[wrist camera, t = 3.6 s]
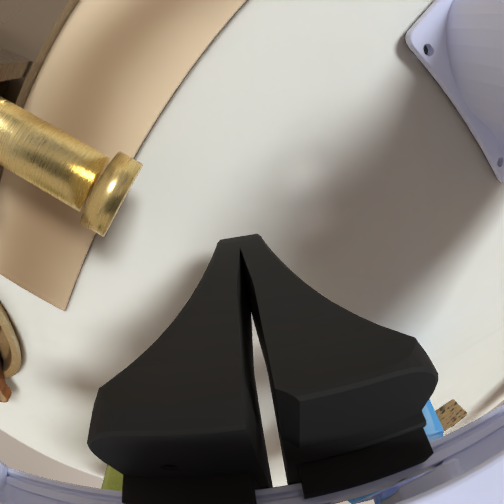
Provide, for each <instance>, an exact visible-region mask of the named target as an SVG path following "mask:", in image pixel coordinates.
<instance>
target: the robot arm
mask: <svg viewBox="0 0 504 504" xmlns="http://www.w3.org/2000/svg"><path fill="white" fill-rule="evenodd" d="M405 40H406V43H407V45H408V47H409V48H410V49H411V51H412V52H413V53H414V54H415V55H416V56H417V58H418V59H419V60H420V61H421V62H422V64H423V65H424V66H425V67H426V68H427V70H428V71H429V72H430V73H431V75H432V76H433V77H434V79H435V80H436V81H437V82H438V84H439V85H440V86H441V88H442V89H443V90H444V92H445V93H446V95H447V96H448V97H449V99H450V100H451V102H452V103H453V104H454V106H455V107H456V109H457V110H458V112H459V113H460V115H461V116H462V118H463V119H464V121H465V123H466V124H467V126H468V127H469V129H470V131H471V132H472V134H473V135H474V137H475V139H476V140H477V142H478V144H479V146H480V147H481V149H482V151H483V153H484V154H485V156H486V158H487V160H488V162H489V164H490V166H491V167H492V169H493V171H494V173H495V175H496V177H497V179H498V180H499V181H500V182H502V183H504V0H435V1H434V2H433V3H432V4H431V5H430V6H429V8H428V9H427V10H426V11H425V12H424V13H423V14H422V15H421V17H420V18H419V19H418V20H417V21H416V22H415V23H414V24H413V26H412V27H411V28H410V29H409V30H408V31H407V33H406V37H405ZM424 45H426V47H427V48H428V53H427V55H426V54H425V53H424V50H423V47H424ZM251 313H252V316H253V320H254V324H255V327H256V331H257V334H258V338H259V342H260V345H261V349H262V352H263V356H264V359H265V363H266V367H267V371H268V376H269V382H270V387H271V393H272V399H273V404H274V410H275V416H276V421H277V427H278V433H279V438H280V444H281V450H282V455H283V461H284V466H285V472H286V478H287V483H288V485H286V486H280V487H273V486H272V480H271V475H270V469H269V463H268V457H267V452H266V446H265V440H264V434H263V428H262V421H261V415H260V409H259V403H258V396H257V390H256V383H255V376H254V365H253V344H252V322H251ZM437 382H438V373H437V371H436V369H435V367H434V365H433V364H432V362H431V360H430V358H429V357H428V355H427V354H426V352H425V351H424V349H423V348H422V347H421V345H420V344H419V343H418V341H417V340H416V338H414V337H412V336H409V335H406V334H403V333H400V332H397V331H394V330H391V329H388V328H385V327H382V326H380V325H377V324H375V323H373V322H371V321H368V320H366V319H364V318H361V317H359V316H357V315H355V314H353V313H351V312H349V311H348V310H346V309H344V308H342V307H340V306H339V305H337V304H335V303H333V302H331V301H330V300H328V299H327V298H325V297H324V296H322V295H321V294H319V293H318V292H317V291H315V290H314V289H312V288H311V287H310V286H308V285H307V284H306V283H305V282H303V281H302V280H301V279H300V278H299V277H298V276H296V275H295V274H294V273H293V272H292V271H291V270H290V269H289V268H288V267H287V266H286V265H285V264H284V263H283V262H282V261H281V260H280V259H279V258H278V257H277V256H276V255H275V254H274V253H273V252H272V251H271V249H270V248H269V247H268V246H267V244H266V243H265V242H264V240H263V239H262V237H261V236H260V235H258V234H253V235H247V236H241V237H235V238H229V239H223V240H220V241H219V242H218V243H217V246H216V249H215V252H214V254H213V257H212V259H211V261H210V263H209V265H208V267H207V269H206V271H205V273H204V275H203V277H202V279H201V281H200V283H199V284H198V286H197V288H196V289H195V291H194V293H193V294H192V296H191V297H190V299H189V301H188V302H187V303H186V305H185V306H184V308H183V309H182V311H181V312H180V313H179V315H178V316H177V317H176V319H175V320H174V321H173V322H172V323H171V325H170V326H169V327H168V328H167V329H166V330H165V332H164V333H163V334H162V335H161V336H160V337H159V338H158V339H157V340H156V341H155V342H154V343H153V344H152V345H151V346H150V347H149V348H148V349H147V350H146V351H145V352H144V353H143V354H142V355H141V356H140V357H138V358H137V359H136V360H135V361H134V362H133V363H132V364H130V365H129V366H128V367H127V368H126V369H124V370H123V371H122V372H120V373H119V374H118V375H116V376H115V377H114V378H113V379H111V380H110V381H109V382H107V383H106V384H105V385H103V386H102V387H100V388H99V390H98V394H97V397H96V400H95V403H94V407H93V412H92V417H91V423H90V429H89V434H88V441H87V444H88V446H89V448H90V450H91V451H92V452H93V453H94V454H95V455H96V456H97V457H98V458H99V459H101V460H102V461H104V462H105V463H106V464H108V465H109V466H111V467H112V468H114V469H115V470H117V471H118V472H120V473H121V474H123V485H122V491H115V490H106V489H99V488H92V487H86V486H80V485H75V484H70V483H65V482H60V481H55V480H51V479H47V478H43V477H39V476H35V475H32V474H28V473H25V472H21V471H18V470H15V469H12V468H8V467H7V466H6V465H5V464H4V463H2V462H1V461H0V504H335V503H340V502H343V501H347V500H351V499H354V498H358V497H361V496H364V495H367V494H370V493H373V492H376V491H379V490H382V489H385V488H388V487H391V486H393V485H396V484H399V483H401V482H404V481H406V480H409V479H411V478H414V477H416V476H418V475H421V474H423V473H425V472H427V473H425V474H423V475H421V476H419V477H417V478H415V479H413V480H411V481H409V482H407V483H405V484H403V485H401V486H399V488H398V490H397V491H396V492H395V493H393V494H392V495H390V496H388V497H387V498H385V499H383V500H381V502H380V504H504V404H502V405H501V406H499V407H497V408H496V409H494V410H492V411H491V412H489V413H487V414H486V415H484V416H482V417H480V418H478V419H477V420H475V421H473V422H471V423H469V424H467V425H465V426H464V427H462V428H460V429H458V430H456V431H454V432H452V433H450V434H447V435H445V436H443V437H441V438H439V439H437V440H435V441H432V442H429V440H428V438H427V435H426V433H425V430H424V428H423V427H425V426H426V425H427V423H426V419H425V417H424V415H423V412H422V409H423V408H424V406H425V405H426V403H427V402H428V400H429V398H430V397H431V395H432V394H433V392H434V390H435V387H436V385H437ZM430 470H431V471H430ZM428 471H429V472H428Z"/></svg>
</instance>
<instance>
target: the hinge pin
mask: <svg viewBox="0 0 504 504" xmlns="http://www.w3.org/2000/svg"><path fill="white" fill-rule="evenodd" d="M109 161H110V157H108V156H107V155H105V154H103V153H101V152H100V151H98V150H96V149H94V148H92V147H91V146H89V145H87V144H85V143H84V142H82V141H80V140H78V139H77V138H75V137H73V136H71V135H69V134H68V133H66V132H64V131H62V130H60V129H59V128H57V127H55V126H53V125H52V124H50V123H48V122H46V121H44V120H43V119H41V118H39V117H37V116H35V115H34V114H32V113H30V112H28V111H26V110H25V109H23V108H21V107H19V106H17V105H16V104H14V103H12V102H10V101H8V100H6V99H5V98H3V97H1V96H0V165H2V166H3V167H5V168H7V169H8V170H10V171H11V172H13V173H15V174H16V175H18V176H20V177H21V178H23V179H25V180H26V181H28V182H30V183H31V184H33V185H35V186H36V187H38V188H40V189H41V190H43V191H45V192H46V193H48V194H50V195H52V196H53V197H55V198H57V199H58V200H60V201H62V202H64V203H65V204H67V205H69V206H71V207H72V208H74V209H76V210H78V211H79V212H81V211H82V210H83V209H84V211H83V213H82V216H81V220H80V224H81V225H83V226H85V227H86V228H88V229H90V230H92V231H94V232H95V233H97V234H99V235H101V236H103V237H104V236H105V234H106V232H107V231H108V229H109V227H110V225H111V223H112V221H113V220H114V218H115V216H116V214H117V212H118V210H119V208H120V207H121V205H122V203H123V201H124V199H125V197H126V196H127V194H128V192H129V190H130V188H131V187H132V185H133V183H134V181H135V179H136V177H137V176H138V174H139V172H140V170H141V168H142V166H143V164H142V163H140V162H138V161H136V160H135V159H133V158H131V157H129V156H128V155H126V154H124V153H122V152H121V151H119V152H118V153H117V154H116V155H115V156H114V157H113V159H112V160H111V161H110V163H109Z"/></svg>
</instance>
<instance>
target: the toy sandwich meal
mask: <svg viewBox="0 0 504 504" xmlns="http://www.w3.org/2000/svg"><path fill="white" fill-rule="evenodd" d="M20 366H21V350H20V346H19V342H18V340H17V337H16V334H15V332H14V329H13V327H12V324H11V322H10V320H9V318H8V316H7V314H6V312H5V310H4V308H3V306H2V305H1V303H0V402H8V400H9V398H10V396H11V390H10V389H9V387H8V386H7V384H6V382H5V378H9V377H11V376H13V375H15V374H16V373H17V372H18V371H19V369H20Z"/></svg>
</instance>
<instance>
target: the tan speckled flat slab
mask: <svg viewBox="0 0 504 504" xmlns="http://www.w3.org/2000/svg"><path fill="white" fill-rule="evenodd" d="M435 412H436V414H437V417H438V419H439V421H440V423H441V425H442V428H443V430H444V431H445V430H447V429H448V428H450V427H452V426H454V425H455V424H456V423H457V422H459V421H460V420H461V419H463V418H464V417H465V416H466V415H467V412H466V411H465V410H463V409H462V407H460V406H459V405H458V403H457V402H455V400H451V401H449V402H448V403H446V404H445V405H443V406H442V407H441V408H439V409H438V410H436V411H435Z"/></svg>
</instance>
